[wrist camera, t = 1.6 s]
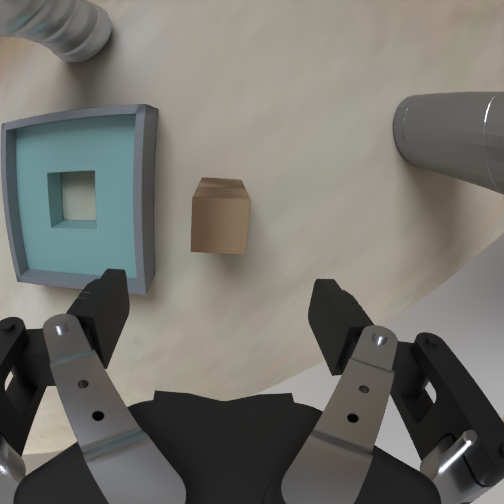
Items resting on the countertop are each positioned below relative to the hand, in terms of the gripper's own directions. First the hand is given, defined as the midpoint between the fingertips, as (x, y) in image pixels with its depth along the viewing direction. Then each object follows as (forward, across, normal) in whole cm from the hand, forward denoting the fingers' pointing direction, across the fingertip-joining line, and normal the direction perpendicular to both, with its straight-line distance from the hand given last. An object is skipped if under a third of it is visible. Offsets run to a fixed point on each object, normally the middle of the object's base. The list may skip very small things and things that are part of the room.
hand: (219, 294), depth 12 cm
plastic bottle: (+20, +16, -18) cm, 31 cm away
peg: (+19, 0, 0) cm, 19 cm away
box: (+19, +15, 0) cm, 25 cm away
